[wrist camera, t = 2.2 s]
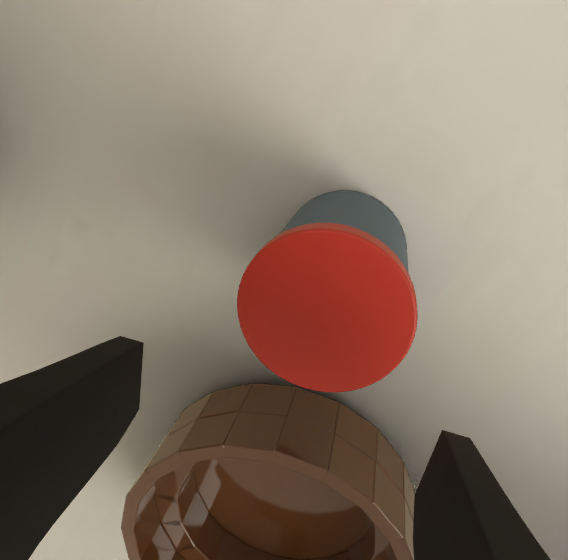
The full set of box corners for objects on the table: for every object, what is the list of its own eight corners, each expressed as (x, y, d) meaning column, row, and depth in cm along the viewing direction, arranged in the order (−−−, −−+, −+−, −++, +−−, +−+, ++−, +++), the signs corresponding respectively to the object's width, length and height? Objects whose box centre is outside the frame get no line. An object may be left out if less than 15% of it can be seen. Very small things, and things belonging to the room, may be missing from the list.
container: (389, 167, 16) (385, 203, 11) (425, 291, 18) (438, 375, 12) (263, 209, 18) (208, 259, 13) (306, 321, 19) (273, 406, 14)
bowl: (368, 350, 19) (360, 422, 15) (443, 565, 22) (454, 669, 18) (129, 401, 23) (72, 468, 19) (224, 577, 26) (193, 665, 22)
